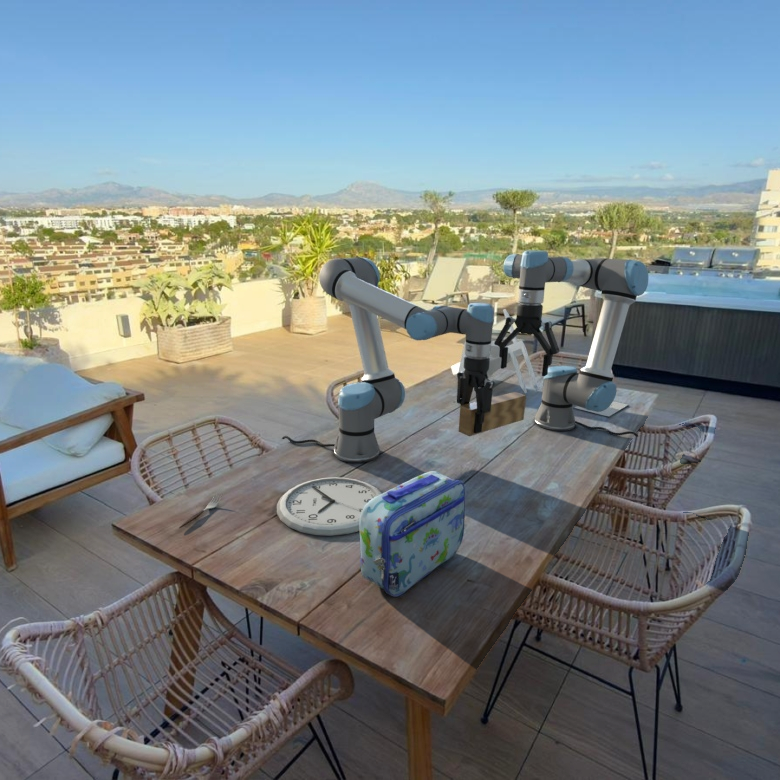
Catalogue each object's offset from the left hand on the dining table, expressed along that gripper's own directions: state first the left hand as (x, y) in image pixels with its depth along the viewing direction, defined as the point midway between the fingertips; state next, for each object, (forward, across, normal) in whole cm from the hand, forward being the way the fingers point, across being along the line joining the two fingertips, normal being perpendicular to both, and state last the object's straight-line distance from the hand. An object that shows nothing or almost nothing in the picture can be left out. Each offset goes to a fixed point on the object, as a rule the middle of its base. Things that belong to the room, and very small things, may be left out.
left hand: (471, 429), depth 162 cm
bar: (+1, 0, +10) cm, 10 cm away
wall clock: (+14, -5, -47) cm, 49 cm away
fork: (+14, -21, -77) cm, 81 cm away
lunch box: (+13, +29, -47) cm, 57 cm away
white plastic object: (+14, -57, +72) cm, 93 cm away
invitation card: (+13, -10, +91) cm, 93 cm away
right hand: (-17, +4, +18) cm, 25 cm away
